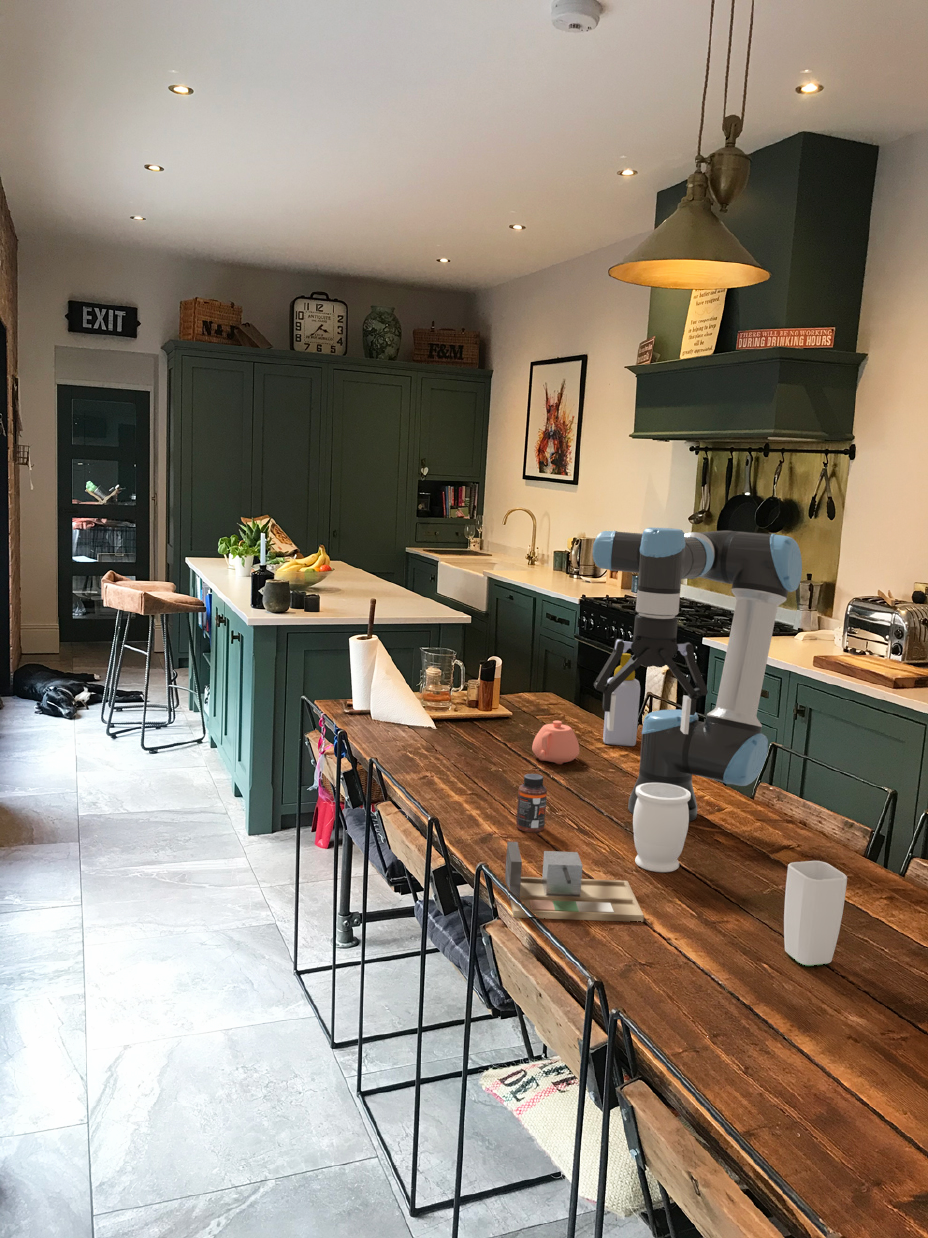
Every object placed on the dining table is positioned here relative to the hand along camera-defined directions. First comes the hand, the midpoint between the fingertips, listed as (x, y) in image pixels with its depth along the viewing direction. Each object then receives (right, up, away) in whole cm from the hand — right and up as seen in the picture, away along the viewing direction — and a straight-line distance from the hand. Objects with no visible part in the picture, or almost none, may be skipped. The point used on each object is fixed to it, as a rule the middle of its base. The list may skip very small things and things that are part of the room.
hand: (647, 730), depth 180 cm
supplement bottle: (-19, -24, +28) cm, 42 cm away
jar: (+4, -28, +13) cm, 31 cm away
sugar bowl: (-10, -17, +78) cm, 81 cm away
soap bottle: (+10, -14, +99) cm, 100 cm away
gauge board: (-14, -29, -6) cm, 33 cm away
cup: (+21, -34, -22) cm, 46 cm away
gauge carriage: (-16, -28, -7) cm, 33 cm away
